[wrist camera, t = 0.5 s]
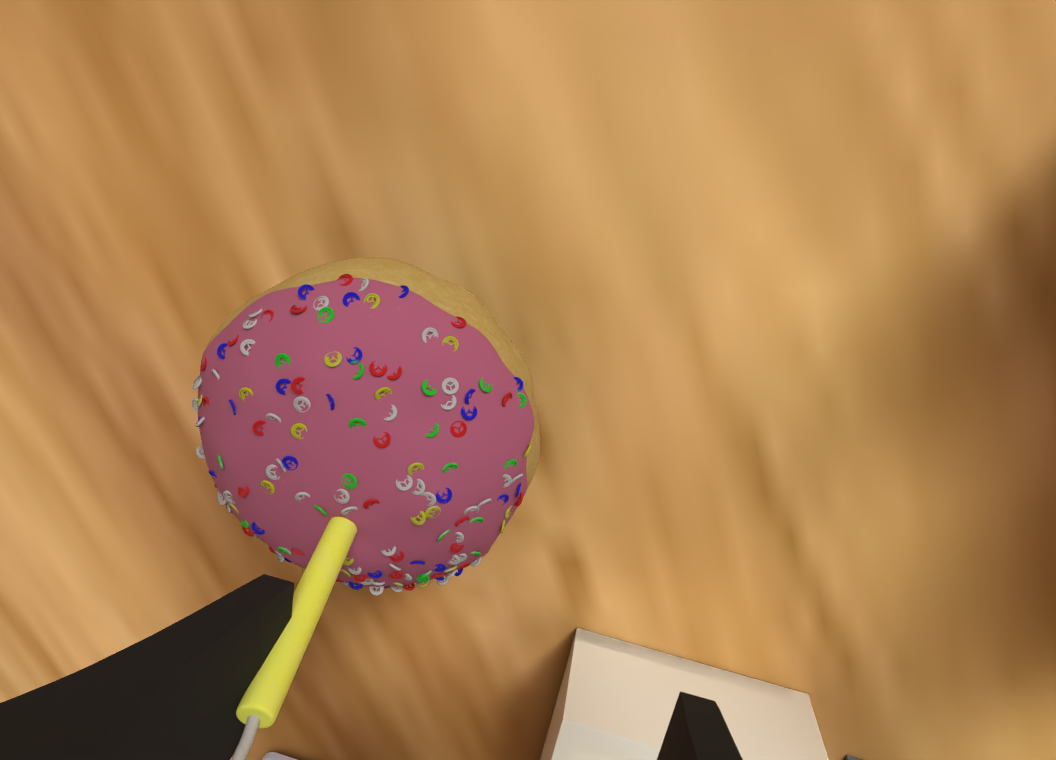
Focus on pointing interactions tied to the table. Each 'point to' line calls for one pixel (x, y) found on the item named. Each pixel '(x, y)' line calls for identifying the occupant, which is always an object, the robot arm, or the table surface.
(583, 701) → the cream pot
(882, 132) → the table surface
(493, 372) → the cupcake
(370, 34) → the table surface
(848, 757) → the slate pot
